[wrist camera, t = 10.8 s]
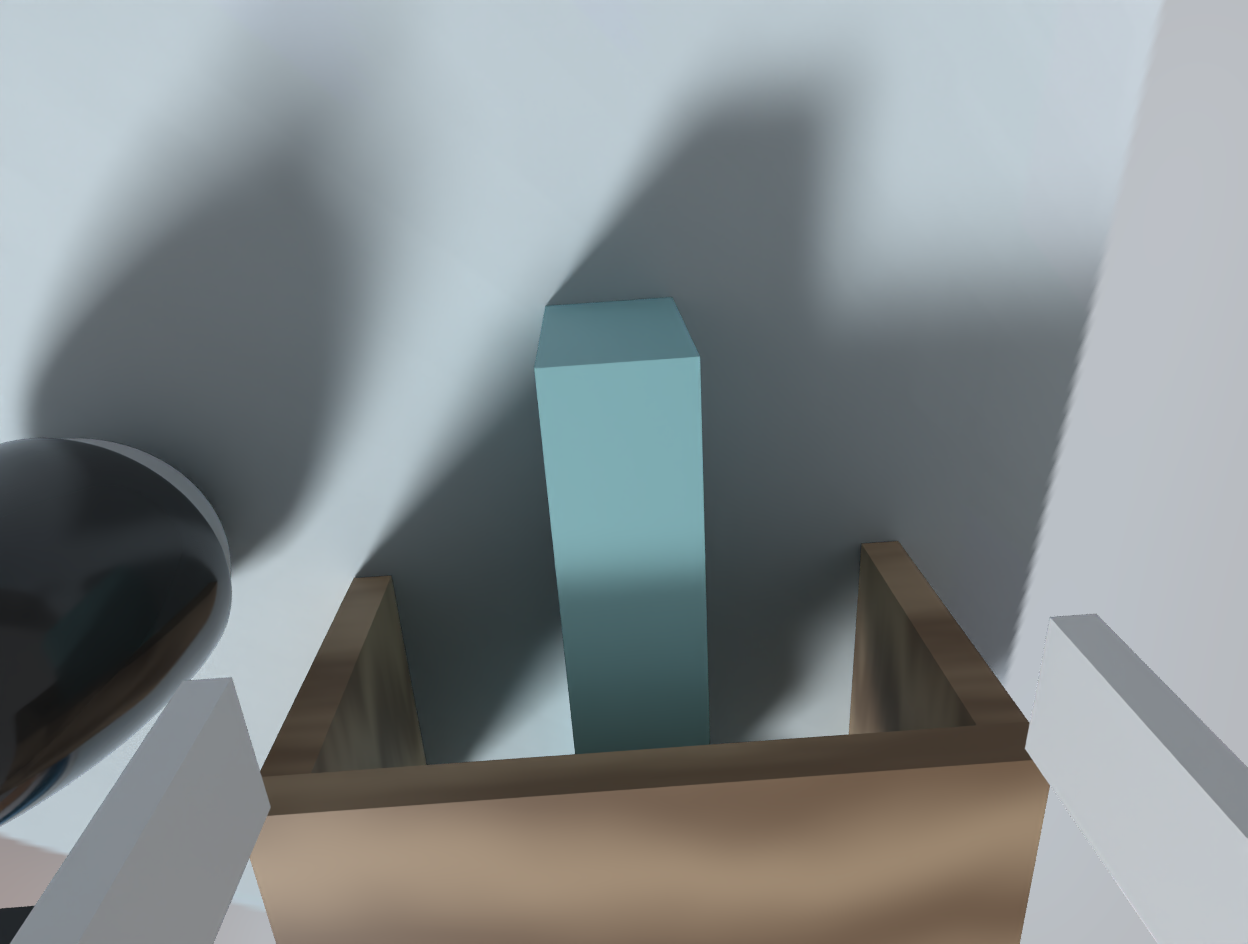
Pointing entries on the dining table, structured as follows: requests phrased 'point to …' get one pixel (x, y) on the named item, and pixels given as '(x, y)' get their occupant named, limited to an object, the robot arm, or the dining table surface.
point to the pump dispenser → (96, 604)
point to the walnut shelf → (661, 809)
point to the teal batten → (627, 520)
